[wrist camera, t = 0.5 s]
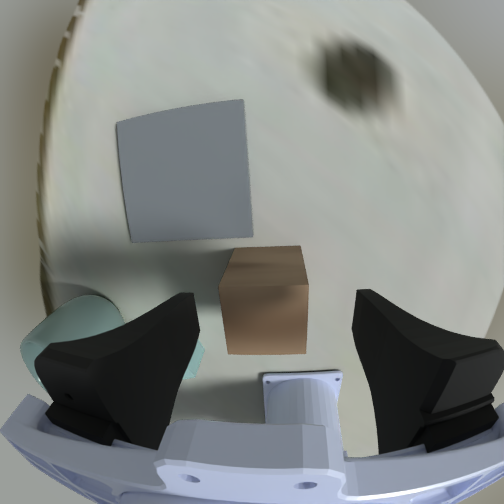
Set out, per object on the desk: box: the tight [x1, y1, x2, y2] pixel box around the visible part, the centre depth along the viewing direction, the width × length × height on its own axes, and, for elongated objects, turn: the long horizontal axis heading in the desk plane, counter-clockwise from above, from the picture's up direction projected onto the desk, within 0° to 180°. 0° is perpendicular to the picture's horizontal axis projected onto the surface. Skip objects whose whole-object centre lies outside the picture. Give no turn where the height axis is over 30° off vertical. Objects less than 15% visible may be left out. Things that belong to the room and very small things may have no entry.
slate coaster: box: [117, 99, 254, 243], centre depth 20 cm, size 10×10×1 cm
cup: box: [20, 295, 125, 392], centre depth 21 cm, size 8×8×10 cm
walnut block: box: [218, 246, 309, 355], centre depth 19 cm, size 5×5×6 cm
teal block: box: [182, 340, 205, 380], centre depth 24 cm, size 4×4×4 cm
